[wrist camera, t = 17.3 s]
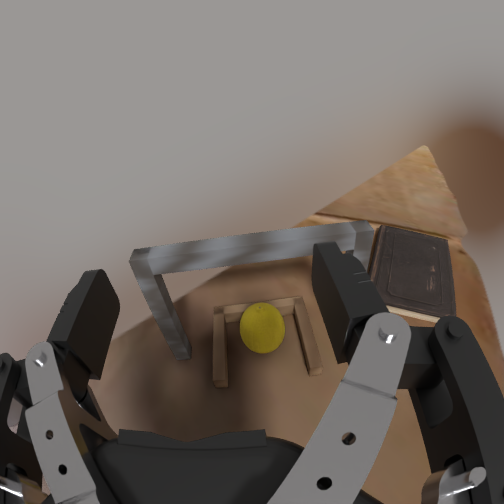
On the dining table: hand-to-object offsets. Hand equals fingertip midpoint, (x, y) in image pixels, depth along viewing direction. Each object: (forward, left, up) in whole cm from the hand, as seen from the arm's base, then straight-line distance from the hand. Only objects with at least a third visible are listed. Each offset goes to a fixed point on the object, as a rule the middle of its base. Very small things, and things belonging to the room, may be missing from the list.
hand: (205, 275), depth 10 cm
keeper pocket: (+2, +14, -25) cm, 28 cm away
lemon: (+2, +14, -25) cm, 29 cm away
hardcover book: (+30, +24, -26) cm, 46 cm away
